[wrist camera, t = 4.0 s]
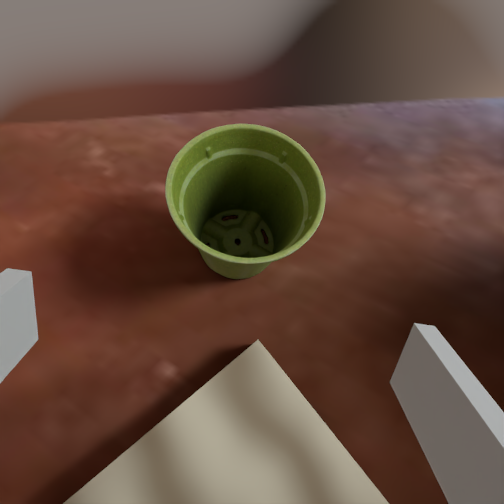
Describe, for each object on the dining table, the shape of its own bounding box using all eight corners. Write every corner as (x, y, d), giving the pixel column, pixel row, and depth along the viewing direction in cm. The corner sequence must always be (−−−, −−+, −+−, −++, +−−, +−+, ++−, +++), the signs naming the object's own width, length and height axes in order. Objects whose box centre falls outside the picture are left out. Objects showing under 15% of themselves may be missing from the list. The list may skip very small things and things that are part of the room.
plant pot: (164, 207, 29) (148, 138, 21) (271, 181, 31) (292, 110, 23) (196, 315, 26) (190, 284, 18) (310, 279, 28) (350, 237, 20)
